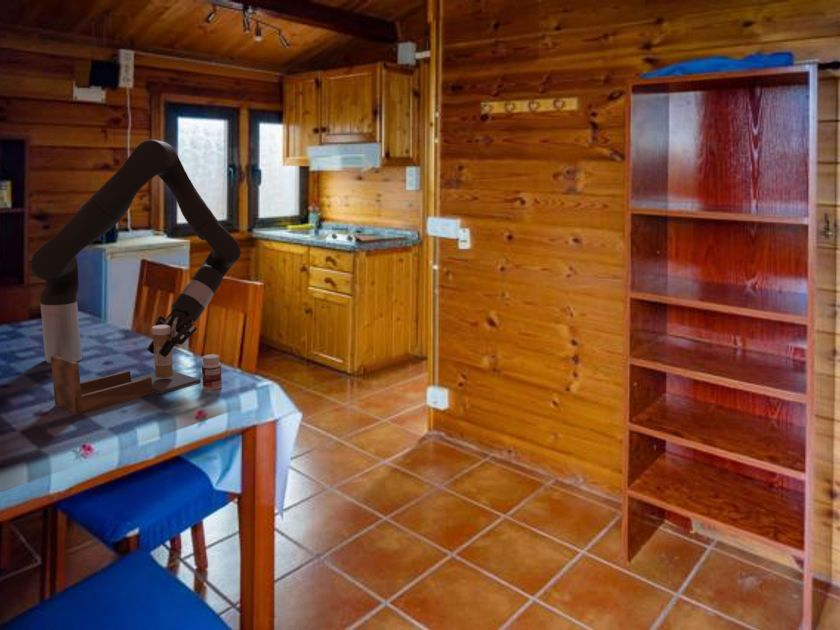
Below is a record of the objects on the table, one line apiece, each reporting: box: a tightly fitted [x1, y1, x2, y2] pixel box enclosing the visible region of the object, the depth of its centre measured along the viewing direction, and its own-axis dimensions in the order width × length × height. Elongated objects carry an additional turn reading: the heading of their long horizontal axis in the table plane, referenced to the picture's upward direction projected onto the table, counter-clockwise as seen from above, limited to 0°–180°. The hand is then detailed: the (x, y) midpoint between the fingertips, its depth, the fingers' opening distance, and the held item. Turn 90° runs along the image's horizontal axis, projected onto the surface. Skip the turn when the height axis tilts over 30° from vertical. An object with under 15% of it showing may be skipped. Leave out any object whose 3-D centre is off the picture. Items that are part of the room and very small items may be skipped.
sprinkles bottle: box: [151, 325, 173, 378], centre depth 175 cm, size 5×5×13 cm
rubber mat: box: [131, 371, 202, 394], centre depth 176 cm, size 14×12×1 cm
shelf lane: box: [50, 355, 153, 415], centre depth 162 cm, size 10×19×12 cm, turn 146°
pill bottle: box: [201, 353, 223, 391], centre depth 172 cm, size 5×5×8 cm
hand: (156, 353), depth 173 cm, fingers closed on sprinkles bottle, 4 cm apart
